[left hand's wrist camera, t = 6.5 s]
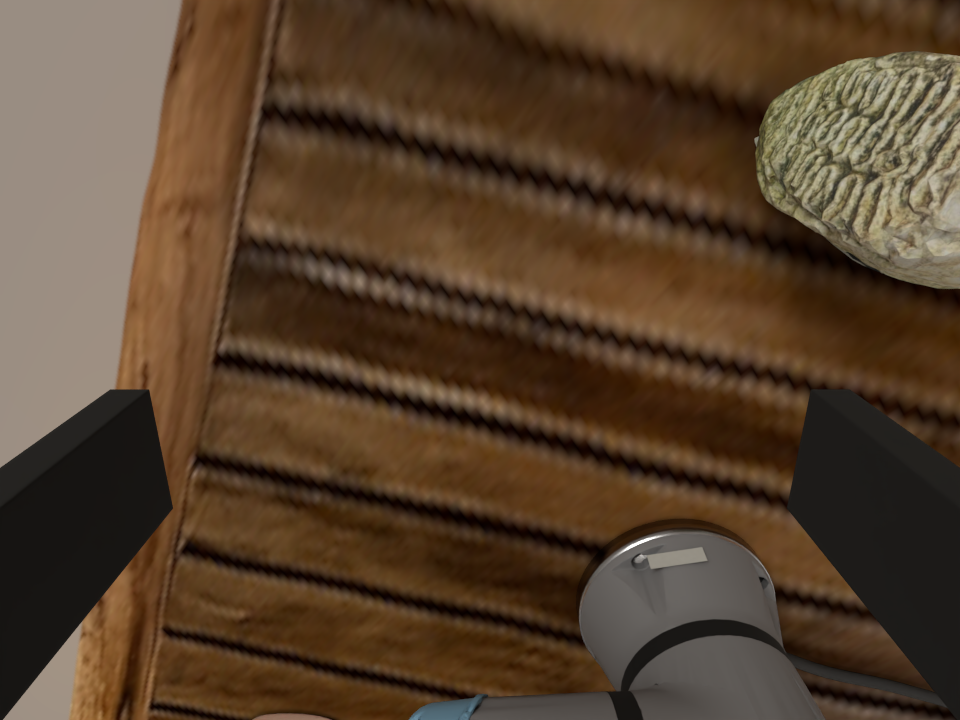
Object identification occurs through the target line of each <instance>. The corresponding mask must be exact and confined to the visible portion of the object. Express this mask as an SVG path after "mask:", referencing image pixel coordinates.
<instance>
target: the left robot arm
mask: <svg viewBox="0 0 960 720" xmlns="http://www.w3.org/2000/svg"><path fill="white" fill-rule="evenodd" d="M172 509H173V506H172V501H171V496H170V491H169V486H168V481H167V476H166V471H165V466H164V462H163V457H162V452H161V447H160V442H159V437H158V432H157V427H156V422H155V417H154V412H153V407H152V402H151V397H150V392H149V390H109V391H108V392H106V393H105V394H103V395H102V396H101V397H99V398H98V399H96V400H95V401H94V402H92V403H91V404H89V405H88V406H87V407H85V408H84V409H82V410H81V411H80V412H78V413H77V414H75V415H74V416H73V417H71V418H70V419H68V420H67V421H66V422H64V423H63V424H61V425H60V426H58V427H57V428H56V429H54V430H53V431H52V432H50V433H49V434H47V435H46V436H44V437H43V438H42V439H40V440H39V441H37V442H36V443H35V444H33V445H32V446H30V447H29V448H28V449H26V450H25V451H23V452H22V453H21V454H19V455H18V456H16V457H15V458H13V459H12V460H11V461H9V462H8V463H7V464H5V465H4V466H2V467H1V468H0V720H3V719H4V718H5V716H6V715H7V714H8V713H9V711H10V710H11V709H12V708H13V706H14V705H15V704H16V703H17V701H18V700H19V699H20V698H21V696H22V695H23V694H24V693H25V692H26V690H27V689H28V688H29V686H30V685H31V684H32V683H33V682H34V680H35V679H36V678H37V677H38V675H39V674H40V673H41V672H42V670H43V669H44V668H45V667H46V665H47V664H48V663H49V662H50V660H51V659H52V658H53V657H54V655H55V654H56V653H57V652H58V651H59V649H60V648H61V647H62V645H63V644H64V643H65V642H66V641H67V639H68V638H69V637H70V636H71V634H72V633H73V632H74V631H75V629H76V628H77V627H78V626H79V624H80V623H81V622H82V621H83V619H84V618H85V617H86V616H87V614H88V613H89V612H90V611H91V609H92V608H93V607H94V606H95V605H96V603H97V602H98V601H99V600H100V598H101V597H102V596H103V595H104V593H105V592H106V591H107V590H108V588H109V587H110V586H111V585H112V583H113V582H114V581H115V580H116V578H117V577H118V576H119V575H120V573H121V572H122V571H123V570H124V568H125V567H126V566H127V565H128V564H129V562H130V561H131V560H132V559H133V557H134V556H135V555H136V554H137V552H138V551H139V550H140V549H141V547H142V546H143V545H144V544H145V542H146V541H147V540H148V539H149V537H150V536H151V535H152V534H153V532H154V531H155V530H156V529H157V527H158V526H159V525H160V524H161V523H162V521H163V520H164V519H165V518H166V516H167V515H168V514H169V513H170V511H171V510H172ZM787 509H788V510H789V511H790V513H791V514H792V515H793V516H794V518H795V519H796V520H797V521H798V523H799V524H800V525H801V526H802V527H803V529H804V530H805V531H806V532H807V534H808V535H809V536H810V537H811V539H812V540H813V541H814V542H815V544H816V545H817V546H818V547H819V549H820V550H821V551H822V552H823V554H824V555H825V556H826V557H827V559H828V560H829V561H830V562H831V564H832V565H833V566H834V567H835V568H836V570H837V571H838V572H839V573H840V575H841V576H842V577H843V578H844V580H845V581H846V582H847V583H848V585H849V586H850V587H851V588H852V590H853V591H854V592H855V593H856V595H857V596H858V597H859V598H860V600H861V601H862V602H863V603H864V605H865V606H866V607H867V608H868V609H869V611H870V612H871V613H872V614H873V616H874V617H875V618H876V619H877V621H878V622H879V623H880V624H881V626H882V627H883V628H884V629H885V631H886V632H887V633H888V634H889V636H890V637H891V638H892V639H893V641H894V642H895V643H896V644H897V646H898V647H899V648H900V649H901V651H902V652H903V653H904V654H905V655H906V657H907V658H908V659H909V660H910V662H911V663H912V664H913V665H914V667H915V668H916V669H917V670H918V672H919V673H920V674H921V675H922V677H923V678H924V679H925V680H926V682H927V683H928V684H929V685H930V687H931V688H932V689H933V690H934V692H932V691H929V690H925V689H921V688H917V687H914V686H910V685H907V684H903V683H900V682H896V681H892V680H888V679H884V678H879V677H875V676H870V675H865V674H860V673H855V672H850V671H845V670H840V669H836V668H832V667H828V666H824V665H821V664H817V663H814V662H811V661H808V660H806V659H803V658H800V657H798V656H795V655H792V654H789V653H787V652H785V650H784V648H783V643H782V636H781V630H780V624H779V617H778V611H777V605H776V598H775V591H774V586H773V583H772V581H771V578H770V576H769V574H768V572H767V571H766V569H765V567H764V566H763V564H762V563H761V561H760V560H759V558H758V557H757V555H756V554H755V552H754V551H753V549H752V548H751V547H750V546H749V545H748V544H747V543H746V542H745V541H744V540H743V539H742V538H740V537H739V536H738V535H736V534H735V533H733V532H731V531H730V530H728V529H726V528H723V527H721V526H719V525H716V524H713V523H709V522H705V521H700V520H693V519H670V520H662V521H656V522H652V523H648V524H645V525H642V526H639V527H636V528H634V529H632V530H629V531H627V532H625V533H624V534H622V535H620V536H618V537H617V538H615V539H614V540H612V541H611V542H610V543H608V544H607V545H606V546H605V547H603V548H602V549H601V550H600V551H599V552H598V553H597V554H596V556H595V557H594V558H593V559H592V560H591V562H590V563H589V565H588V566H587V568H586V569H585V571H584V573H583V575H582V578H581V580H580V583H579V586H578V590H577V596H576V608H577V615H578V620H579V625H580V630H581V635H582V638H583V641H584V643H585V645H586V647H587V649H588V650H589V652H590V654H591V655H592V656H593V657H594V659H595V660H596V661H597V662H598V664H599V665H600V666H601V668H602V669H603V671H604V673H605V674H606V676H607V677H608V679H609V681H610V682H611V684H612V685H613V687H614V688H615V690H616V691H614V692H587V693H567V694H547V695H527V696H507V697H488V695H487V694H479V695H477V696H475V697H474V698H471V699H462V700H453V701H444V702H435V703H430V704H427V705H425V706H423V707H421V708H420V709H419V710H417V711H416V712H415V713H414V714H413V715H412V716H411V718H410V719H409V720H826V719H825V718H824V716H823V714H822V712H821V711H820V709H819V707H818V706H817V704H816V702H815V701H814V699H813V697H812V696H811V694H810V692H809V691H808V689H807V687H806V685H805V684H804V682H803V680H802V679H801V677H800V675H799V674H798V672H797V670H796V669H795V668H798V669H800V670H803V671H806V672H809V673H811V674H815V675H818V676H821V677H825V678H828V679H832V680H837V681H841V682H845V683H850V684H855V685H860V686H866V687H871V688H876V689H880V690H885V691H889V692H893V693H897V694H901V695H904V696H908V697H911V698H915V699H919V700H922V701H926V702H930V703H933V704H937V705H940V706H943V707H946V708H948V709H949V710H950V711H951V713H952V714H953V715H954V716H955V718H956V719H957V720H960V468H959V467H958V466H956V465H955V464H954V463H952V462H951V461H949V460H948V459H947V458H945V457H944V456H942V455H941V454H940V453H938V452H937V451H935V450H934V449H932V448H931V447H930V446H928V445H927V444H925V443H924V442H923V441H921V440H920V439H918V438H917V437H916V436H914V435H913V434H911V433H910V432H909V431H907V430H906V429H904V428H903V427H902V426H900V425H899V424H897V423H896V422H894V421H893V420H892V419H890V418H889V417H887V416H886V415H885V414H883V413H882V412H880V411H879V410H878V409H876V408H875V407H873V406H872V405H871V404H869V403H868V402H866V401H865V400H864V399H862V398H861V397H859V396H858V395H857V394H855V393H854V392H852V391H851V390H811V392H810V397H809V402H808V407H807V412H806V417H805V422H804V427H803V432H802V437H801V442H800V447H799V452H798V457H797V462H796V466H795V471H794V476H793V481H792V486H791V491H790V496H789V501H788V506H787Z"/></svg>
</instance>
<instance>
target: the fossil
mask: <svg viewBox="0 0 960 720" xmlns="http://www.w3.org/2000/svg"><path fill="white" fill-rule="evenodd" d="M759 135H760V136H759V137H757V138H755V144H756V152H755V155H756V169H757V180H758V183H759V186H760V189H761V192H762V194H763V196H764V198H765V199H766V200H767V201H768V202H769V203H770V204H771V205H773V206H774V207H775V208H776V209H778V210H780V211H781V212H783V213H785V214H787V215H789V216H791V217H793V218H796V219H797V220H798V221H800V222H801V223H802V224H804V225H805V226H807V227H808V228H810V229H812V230H814V231H815V232H816V233H819V234H821V235H822V236H824V237H825V238H826V239H827V240H828V241H830V242H831V243H832V244H833V245H834V246H835V247H837V248H838V249H839V250H841V251H842V252H843V253H845V254H846V255H847V256H848V257H850V258H851V259H852V260H854V261H856V262H858V263H860V264H861V265H863V266H866V267H868V268H870V269H872V270H875V271H878V272H881V273H884V274H886V275H888V276H891V277H894V278H896V279H899V280H903V281H907V282H910V283H914V284H921V285H925V286H930V287H934V288H940V289H952V288H958V289H960V56H955V55H947V54H936V53H928V52H920V51H915V52H899V53H892V54H889V55H886V56H882V57H878V58H874V57H870V58H866V59H860V58H859V59H855V60H851V61H847V62H846V63H844V64H840V65H837V66H836V67H832V68H830V69H828V70H826V71H824V72H822V73H820V74H818V75H815V76H812V77H809V78H807V79H805V80H803V81H801V82H799V83H797V84H796V85H795V86H794V87H792V88H791V89H787V90H785V91H784V92H783V93H782V94H781V95H779V96H778V97H777V98H775V99H774V100H773V101H772V102H771V103H770V105H769V107H768V109H767V111H766V114H765V116H764V119H763V121H762V124H761V126H760V129H759Z"/></svg>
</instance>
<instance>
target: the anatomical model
mask: <svg viewBox="0 0 960 720" xmlns="http://www.w3.org/2000/svg"><path fill="white" fill-rule="evenodd" d="M253 720H331V719H329V718H325V717H321V716H315V715H308V714H294V713H278V714H266V715H262V716H258V717H256V718H254V719H253Z"/></svg>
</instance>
